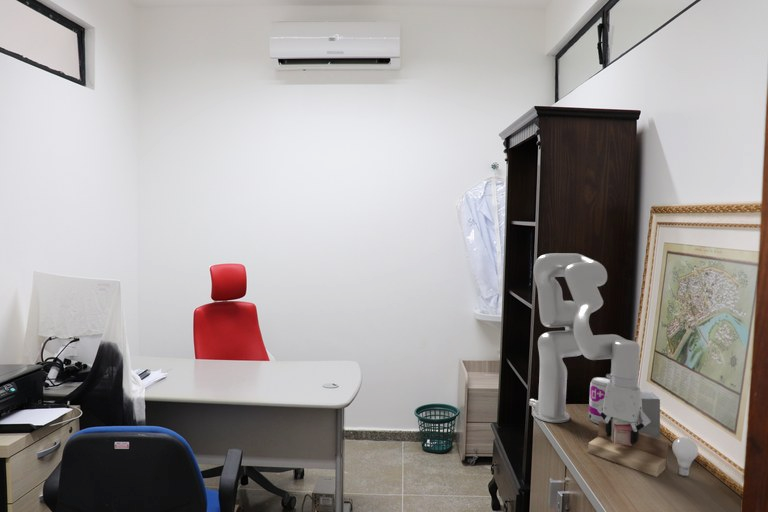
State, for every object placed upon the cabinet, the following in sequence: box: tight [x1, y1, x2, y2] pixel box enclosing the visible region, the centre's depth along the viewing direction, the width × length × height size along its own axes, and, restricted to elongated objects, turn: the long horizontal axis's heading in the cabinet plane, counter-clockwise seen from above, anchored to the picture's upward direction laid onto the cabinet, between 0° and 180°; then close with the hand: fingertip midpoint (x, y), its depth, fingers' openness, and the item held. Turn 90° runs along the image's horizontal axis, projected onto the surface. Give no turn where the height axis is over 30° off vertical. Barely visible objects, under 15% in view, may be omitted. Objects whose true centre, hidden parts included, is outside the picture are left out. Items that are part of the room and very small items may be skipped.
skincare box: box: [638, 391, 661, 438], centre depth 167 cm, size 8×7×16 cm
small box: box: [611, 418, 632, 445], centre depth 155 cm, size 5×4×8 cm
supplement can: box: [588, 376, 610, 425], centre depth 183 cm, size 8×8×15 cm
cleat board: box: [587, 420, 670, 478], centre depth 154 cm, size 20×8×8 cm, turn 44°
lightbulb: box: [671, 436, 699, 477], centre depth 145 cm, size 6×6×11 cm
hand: (621, 438), depth 155 cm, fingers closed on small box, 6 cm apart
